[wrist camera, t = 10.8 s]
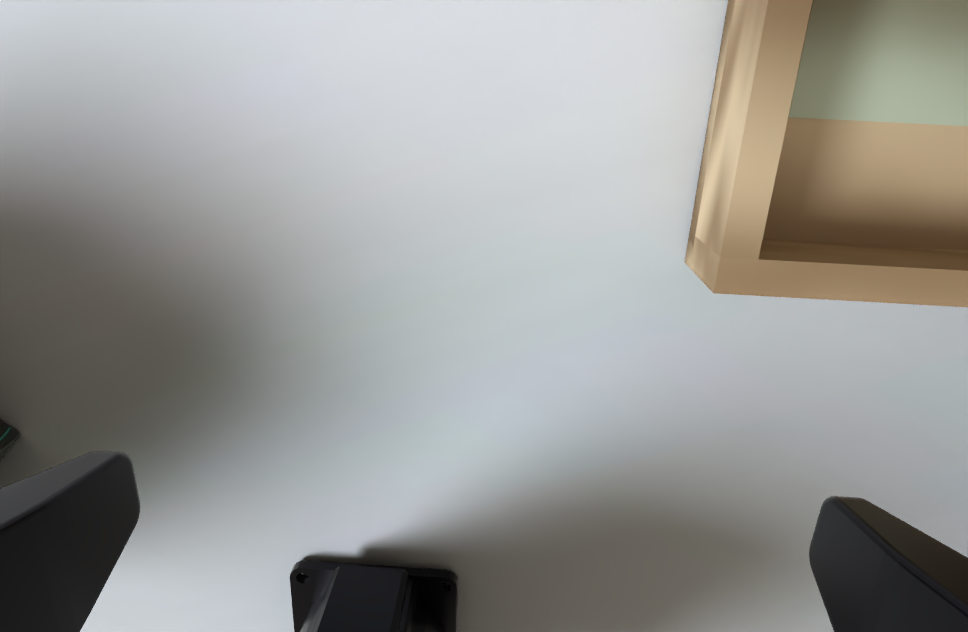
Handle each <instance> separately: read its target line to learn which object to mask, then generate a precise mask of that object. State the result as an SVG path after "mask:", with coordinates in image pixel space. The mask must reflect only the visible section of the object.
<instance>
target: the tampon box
mask: <svg viewBox="0 0 968 632" xmlns="http://www.w3.org/2000/svg"><path fill="white" fill-rule="evenodd" d="M18 438H19V433H18V432H17V431H16V430H14V429H12V428H11V427H9V426H8V425H6V424H5V423H3V422H2V421H0V460H1V459H2V458H3V456H4V455H5V454H6V453H7V451H8V450H9V449H10V448H11V446H12V445H13V444H14V442H15V441H16V440H17V439H18Z"/></svg>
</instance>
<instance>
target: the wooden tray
mask: <svg viewBox="0 0 968 632" xmlns="http://www.w3.org/2000/svg"><path fill="white" fill-rule="evenodd" d="M685 263H686V264H687V265H688V266H689V268H690V269H691V270H692V271H693V272H694V273H695V274H696V275H697V276H698V277H699V278H700V279H701V280H702V281H703V283H704V284H705V285H706V286H707V287H708V288H709V289H710V290H711V291H712V292H713V293H720V294H738V295H756V296H774V297H792V298H810V299H829V300H847V301H865V302H883V303H901V304H919V305H937V306H955V307H968V0H728V5H727V11H726V17H725V23H724V29H723V35H722V41H721V47H720V53H719V59H718V65H717V71H716V77H715V83H714V89H713V95H712V101H711V107H710V113H709V119H708V125H707V131H706V137H705V143H704V149H703V155H702V161H701V167H700V173H699V179H698V185H697V191H696V197H695V203H694V209H693V215H692V221H691V227H690V233H689V239H688V245H687V251H686V257H685Z"/></svg>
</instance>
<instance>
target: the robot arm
mask: <svg viewBox="0 0 968 632" xmlns="http://www.w3.org/2000/svg"><path fill="white" fill-rule="evenodd" d="M139 514H140V501H139V496H138V490H137V485H136V480H135V474H134V469H133V464H132V461H131V459H130V457H129V456H128V455H126V454H125V453H121V452H106V451H94V452H90V453H88V454H85V455H83V456H80V457H78V458H75V459H73V460H70V461H68V462H65V463H63V464H60V465H58V466H55V467H53V468H50V469H48V470H45V471H43V472H41V473H38V474H36V475H33V476H31V477H28V478H26V479H23V480H21V481H18V482H16V483H13V484H11V485H8V486H6V487H3V488H1V489H0V632H80V630H81V628H82V626H83V625H84V623H85V621H86V619H87V618H88V616H89V614H90V612H91V610H92V608H93V606H94V604H95V603H96V601H97V599H98V597H99V595H100V593H101V591H102V589H103V587H104V585H105V583H106V581H107V580H108V578H109V576H110V574H111V572H112V570H113V568H114V566H115V564H116V562H117V560H118V559H119V557H120V555H121V553H122V551H123V549H124V547H125V545H126V543H127V541H128V539H129V537H130V536H131V534H132V532H133V530H134V528H135V526H136V524H137V521H138V518H139ZM809 558H810V564H811V568H812V571H813V574H814V577H815V580H816V582H817V585H818V588H819V591H820V594H821V596H822V599H823V602H824V605H825V608H826V610H827V613H828V616H829V619H830V622H831V624H832V627H833V630H834V632H968V558H967V557H965V556H964V555H962V554H960V553H958V552H957V551H955V550H953V549H951V548H949V547H948V546H946V545H944V544H942V543H941V542H939V541H937V540H935V539H934V538H932V537H930V536H928V535H927V534H925V533H923V532H921V531H920V530H918V529H916V528H914V527H912V526H911V525H909V524H907V523H905V522H904V521H902V520H900V519H898V518H897V517H895V516H893V515H891V514H890V513H888V512H886V511H884V510H883V509H881V508H879V507H877V506H875V505H874V504H872V503H870V502H868V501H867V500H865V499H861V498H855V497H838V496H831V497H829V498H827V499H826V500H825V501H824V502H823V504H822V507H821V510H820V513H819V517H818V520H817V524H816V527H815V531H814V534H813V538H812V541H811V544H810V551H809ZM301 573H304V574H306V575H308V576H305V575H302V574H301ZM444 582H445V583H448V584H449V585H443V584H441V583H444ZM290 584H291V596H292V608H293V619H294V631H295V632H456V622H457V596H458V578H457V576H456V575H455V573H453V572H451V571H449V570H440V569H425V568H410V567H394V566H379V565H364V564H349V563H333V562H318V561H300V562H297V563H296V564H295V565H294V567H293V569H292V572H291V574H290Z"/></svg>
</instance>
